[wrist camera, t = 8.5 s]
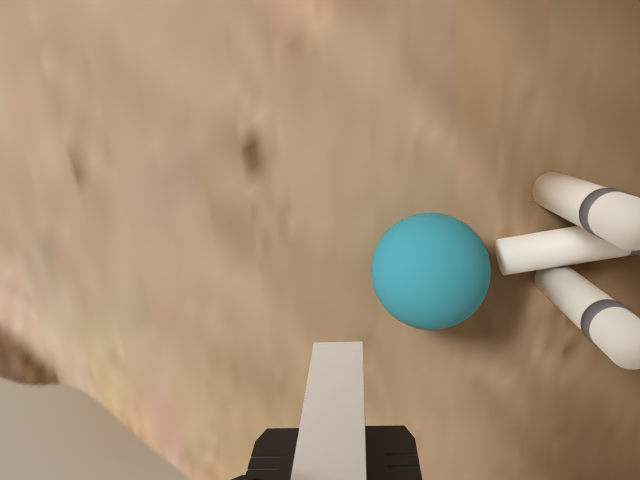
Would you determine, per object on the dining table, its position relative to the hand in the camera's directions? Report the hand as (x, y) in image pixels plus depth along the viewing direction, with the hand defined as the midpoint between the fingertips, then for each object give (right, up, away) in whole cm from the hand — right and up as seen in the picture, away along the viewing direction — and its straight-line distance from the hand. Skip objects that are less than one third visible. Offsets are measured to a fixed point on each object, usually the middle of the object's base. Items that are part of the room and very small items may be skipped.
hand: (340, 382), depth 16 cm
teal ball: (+5, +3, +11) cm, 12 cm away
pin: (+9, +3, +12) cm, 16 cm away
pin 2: (+13, +2, +13) cm, 18 cm away
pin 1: (+12, +7, +12) cm, 18 cm away
